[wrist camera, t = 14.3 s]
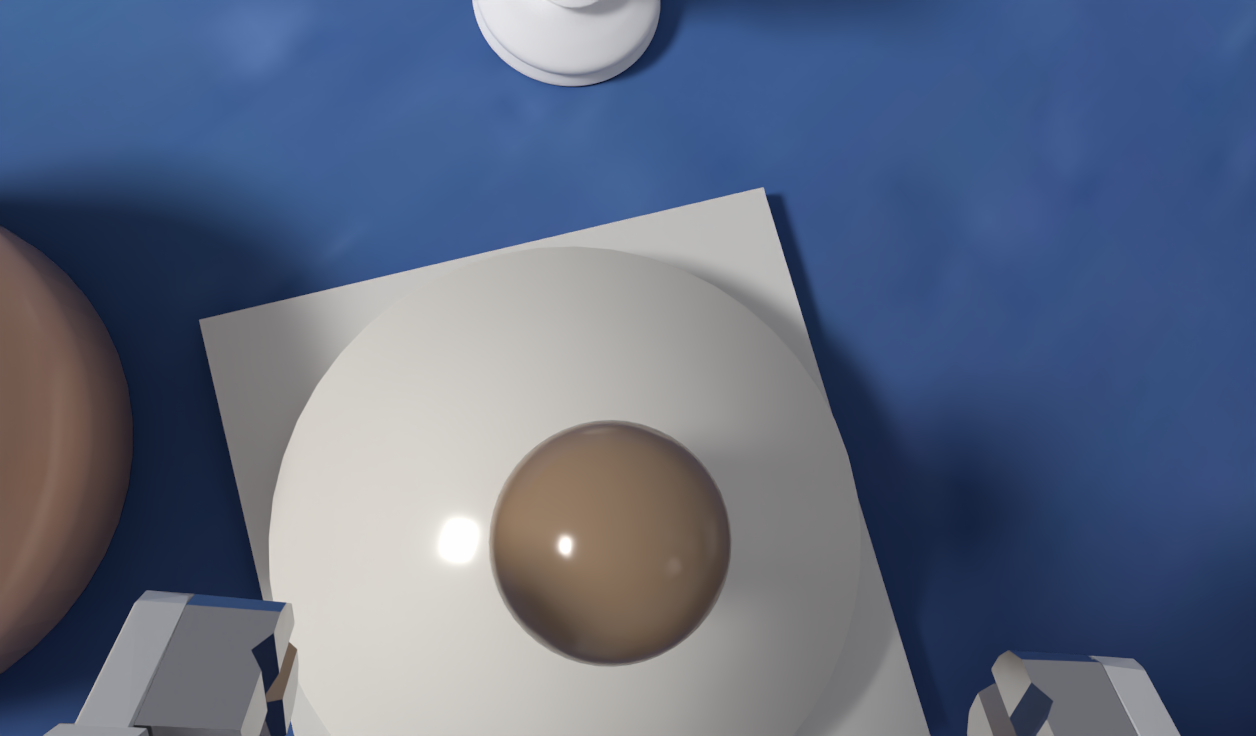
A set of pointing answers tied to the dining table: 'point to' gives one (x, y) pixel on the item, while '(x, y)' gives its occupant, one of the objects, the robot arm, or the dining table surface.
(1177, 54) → the dining table surface
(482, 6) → the chess piece
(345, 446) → the lid
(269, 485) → the mat
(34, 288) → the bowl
